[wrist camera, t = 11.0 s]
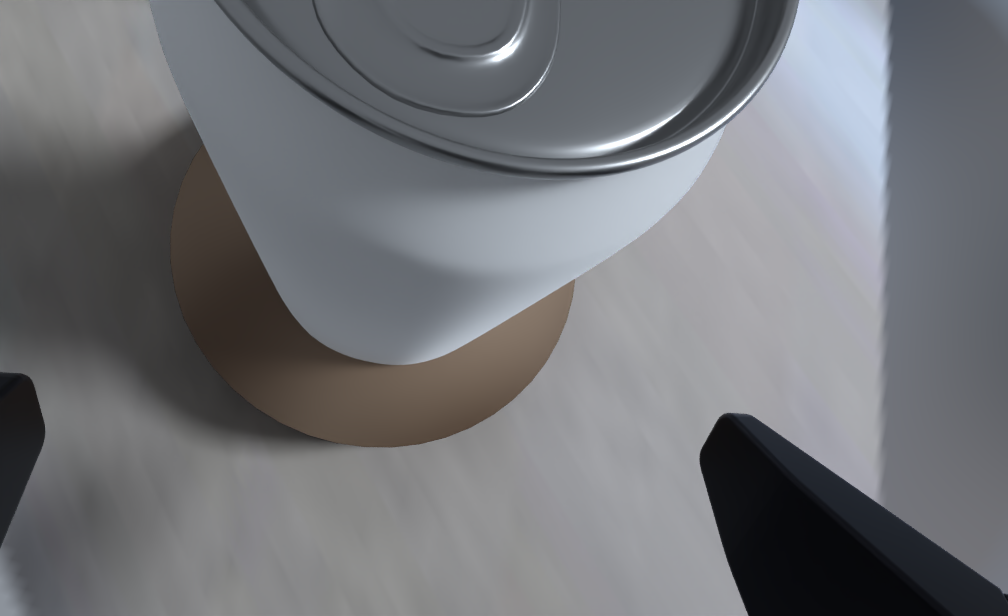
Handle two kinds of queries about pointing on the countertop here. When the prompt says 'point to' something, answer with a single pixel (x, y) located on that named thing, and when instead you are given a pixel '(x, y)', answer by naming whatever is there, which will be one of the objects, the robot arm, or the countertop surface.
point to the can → (456, 143)
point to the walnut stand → (319, 369)
